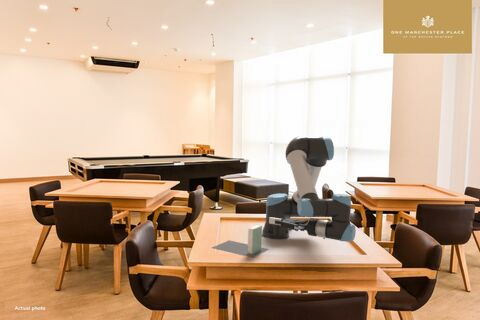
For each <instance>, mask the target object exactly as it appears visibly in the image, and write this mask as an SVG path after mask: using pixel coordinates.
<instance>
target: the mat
mask: <svg viewBox="0 0 480 320" xmlns="http://www.w3.org/2000/svg"><path fill="white" fill-rule="evenodd" d="M211 249H214V250H215V249H216V250H218V251H221V252H222V251H223V252H226V253H227V252H228V253H232V254H236V255H240V256H244V257H249V258H252V259H254V258H257V257H258V256H260V255H262V254H264V253H265V252H267V251H269V250H270V248H266V247H263V246H261V250H260V251H258V252H257V253H255V254H249V253H248V243H244V242H239V241H234V240H227V241H224V242H222V243H219V244H217V245H214V246H212V247H211Z"/></svg>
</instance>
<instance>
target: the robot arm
mask: <svg viewBox="0 0 480 320" xmlns="http://www.w3.org/2000/svg"><path fill="white" fill-rule="evenodd" d="M334 146H335V145H334V143H333V140H332V139H331V137H328V136H323V135H322V136H311V135H309V136H307V135H300V136H296V137H294V138H293V139H292V140H290V142H289V143H288V144H287V147H286V149H285V153H284V154H285V158H286V162H287V164H288V165H290V169H291V172H292V175H293V178H294V182H295V186H296V188H297V190H295V191H294V192H293V194H292V196H288V194H287V193H273V194H270V195H268V196H267V197H266V203H265V205H266V207H265V222H264V226H263V227H262V237H265V238H268V239H279V240H280V239H287V238H289V236H290V231H289V230H293V231H295V232H298V231H300V232H305V231H306V232H307V235H308V236H310V237H318V238H322V239H323V240H325V239H329V240H335V241H340V242H347V243H351V242H353V241H354V240H355V237H356V231H357V230H356V225H355V224H353V223H351V211H352V210H351V209H352V199H351V198H352V197H351V196H350V195H349V194H345V193H333V194H332V197H331V198H320V197H319V195H318V193H317V190H316V184H317V182H318V179H319V176H320V173H321V170H322V168H323V167H325V166H326V164H327V162H328V161H329V162H330V161H331V160H332V161H333V159H334V156H335V147H334ZM287 217H290V218H291V219H287ZM295 218H297V219H295ZM298 218H310V219H309V220H308V219H298ZM318 218H331V220H327V219H318Z"/></svg>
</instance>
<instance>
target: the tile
mask: <svg viewBox="0 0 480 320" xmlns="http://www.w3.org/2000/svg"><path fill="white" fill-rule="evenodd" d="M262 230H263V226H262V225H258V224H256V225H253V226H251V227H248V230H247V244H248V253H249V254H255V253H257V252H258V251H260V250H261V247H262V239H263V238H262V237H263V235H262Z"/></svg>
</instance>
